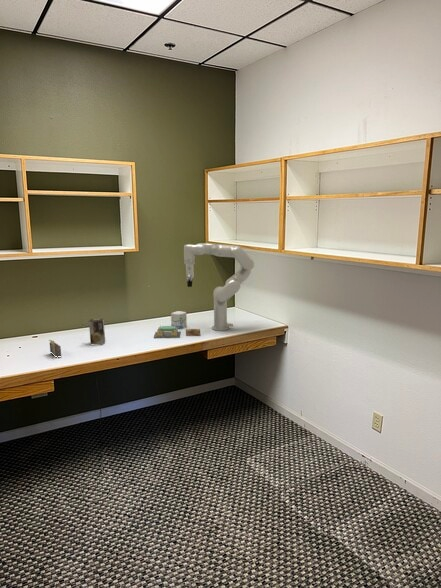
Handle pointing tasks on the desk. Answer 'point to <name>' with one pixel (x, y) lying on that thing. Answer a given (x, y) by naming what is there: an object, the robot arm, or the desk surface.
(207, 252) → the robot arm
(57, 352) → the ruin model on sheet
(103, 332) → the coffee box
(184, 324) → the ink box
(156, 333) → the chassis
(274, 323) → the desk surface
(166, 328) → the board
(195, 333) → the block
